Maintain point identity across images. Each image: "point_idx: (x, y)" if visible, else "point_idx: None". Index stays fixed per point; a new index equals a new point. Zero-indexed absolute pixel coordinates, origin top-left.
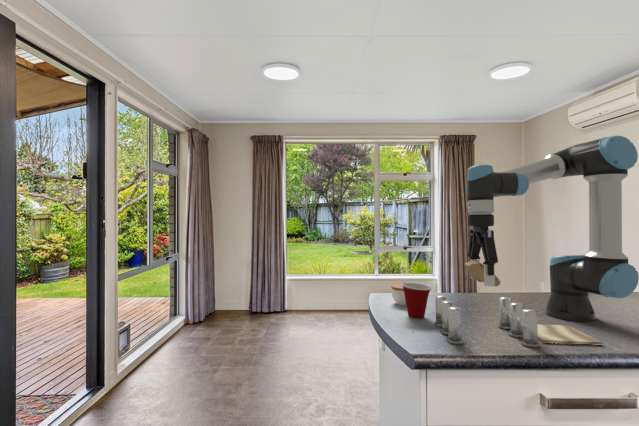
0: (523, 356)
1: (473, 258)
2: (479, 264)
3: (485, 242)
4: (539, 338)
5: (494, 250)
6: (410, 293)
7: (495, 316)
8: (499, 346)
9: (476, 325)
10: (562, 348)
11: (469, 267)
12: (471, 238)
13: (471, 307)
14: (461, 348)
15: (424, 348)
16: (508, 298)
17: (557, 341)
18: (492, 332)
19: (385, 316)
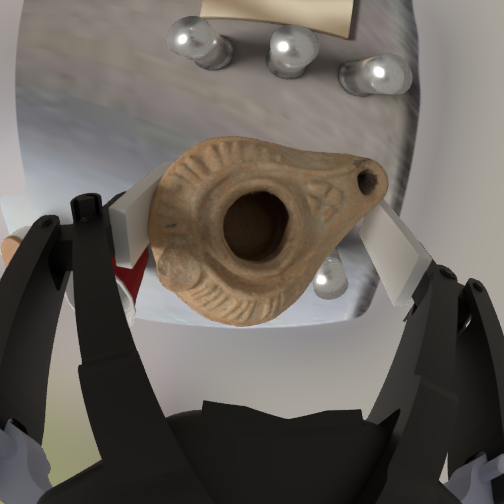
0: (409, 145)
1: (110, 251)
2: (280, 269)
3: (460, 431)
4: (331, 33)
5: (497, 346)
6: (131, 311)
7: (107, 43)
8: (355, 155)
9: (189, 124)
10: (377, 26)
11: (281, 312)
12: (40, 415)
13: (38, 88)
14: (351, 240)
15: (336, 298)
16: (196, 27)
17: (351, 10)
18: (253, 109)
19: (143, 305)
